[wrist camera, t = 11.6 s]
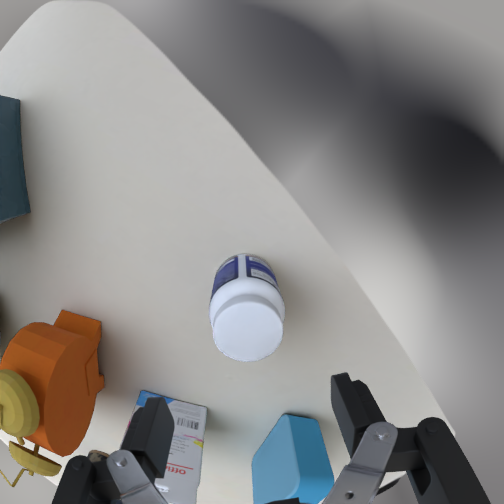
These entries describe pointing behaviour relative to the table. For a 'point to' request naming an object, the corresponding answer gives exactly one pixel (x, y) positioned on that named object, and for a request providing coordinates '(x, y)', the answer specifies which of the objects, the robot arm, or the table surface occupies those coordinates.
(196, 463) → the ink box
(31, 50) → the table surface
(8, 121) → the chest
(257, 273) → the pill bottle
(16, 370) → the alarm clock
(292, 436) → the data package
